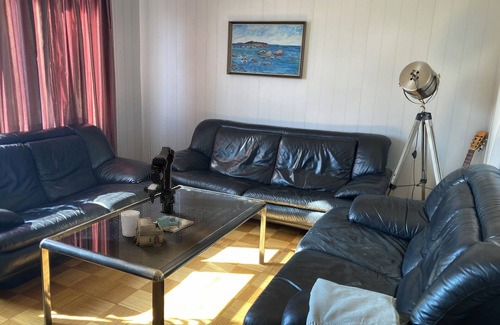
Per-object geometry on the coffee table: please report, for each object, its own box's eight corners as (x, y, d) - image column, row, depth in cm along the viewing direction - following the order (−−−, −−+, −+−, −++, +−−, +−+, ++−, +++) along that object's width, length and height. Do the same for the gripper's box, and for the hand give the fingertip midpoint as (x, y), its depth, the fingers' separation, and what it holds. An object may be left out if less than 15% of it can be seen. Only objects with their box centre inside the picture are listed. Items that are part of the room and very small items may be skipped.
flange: (170, 218, 242) (170, 210, 241) (184, 221, 238) (184, 213, 237) (152, 225, 228) (152, 217, 227) (166, 229, 224) (166, 221, 223)
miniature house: (137, 249, 201) (137, 227, 198) (133, 238, 213) (133, 218, 211) (167, 245, 207) (167, 224, 204) (161, 235, 219) (161, 215, 217)
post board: (149, 225, 232) (149, 217, 231) (170, 217, 248) (170, 209, 247) (174, 232, 224) (174, 224, 223) (193, 223, 239) (193, 215, 238)
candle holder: (143, 232, 222) (143, 211, 220) (132, 238, 213) (132, 217, 211) (128, 229, 225) (128, 209, 223) (117, 235, 216) (116, 214, 214)
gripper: (137, 179, 225) (137, 205, 228) (165, 183, 219) (165, 210, 222) (149, 175, 235) (149, 200, 239) (176, 179, 229) (176, 205, 232)
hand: (159, 204), depth 232 cm, fingers open, 9 cm apart
